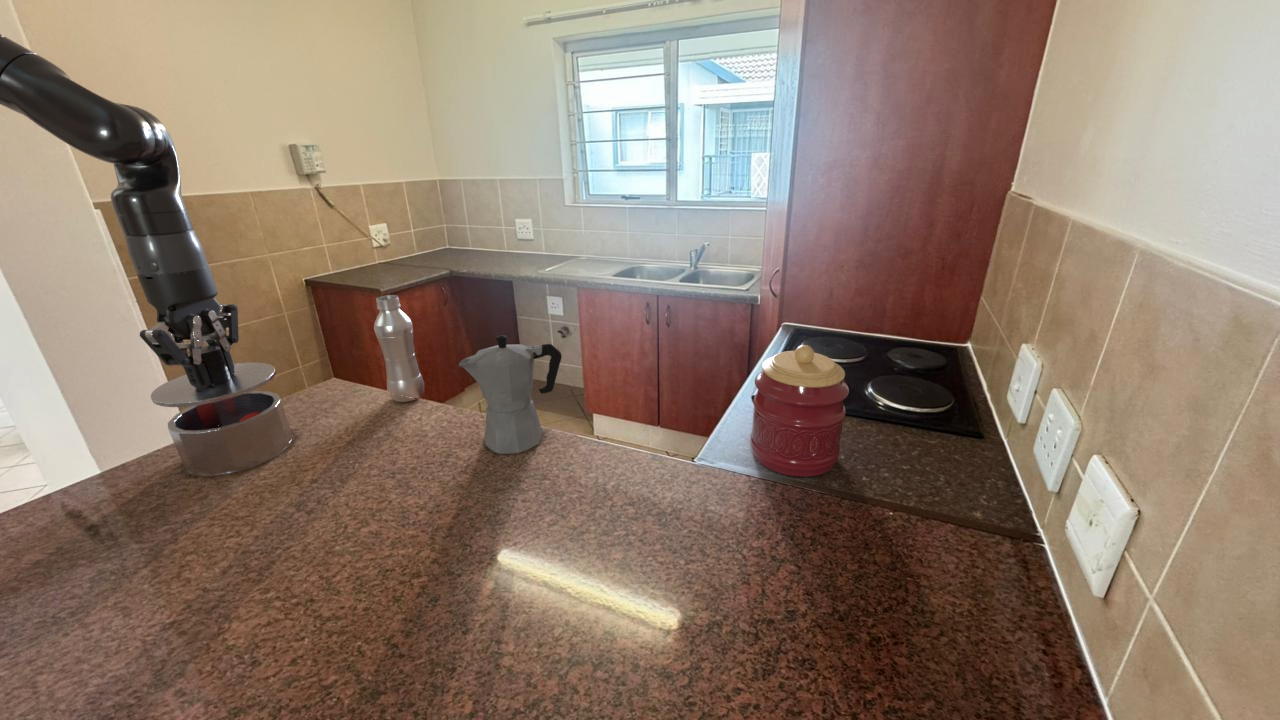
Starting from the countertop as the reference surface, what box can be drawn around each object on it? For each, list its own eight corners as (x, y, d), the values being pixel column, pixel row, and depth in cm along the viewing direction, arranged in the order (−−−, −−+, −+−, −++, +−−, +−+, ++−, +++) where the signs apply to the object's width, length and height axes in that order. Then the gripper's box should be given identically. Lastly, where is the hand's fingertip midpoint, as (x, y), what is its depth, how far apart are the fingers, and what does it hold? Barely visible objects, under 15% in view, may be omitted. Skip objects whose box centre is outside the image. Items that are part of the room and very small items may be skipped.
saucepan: (161, 477, 73) (141, 432, 71) (234, 430, 86) (219, 390, 83) (251, 478, 73) (234, 433, 70) (311, 430, 85) (299, 391, 83)
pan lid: (124, 411, 69) (105, 369, 66) (212, 369, 82) (199, 333, 80) (226, 411, 68) (211, 369, 66) (298, 369, 82) (287, 333, 79)
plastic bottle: (415, 388, 101) (395, 291, 93) (433, 397, 97) (414, 296, 89) (383, 399, 96) (359, 298, 88) (400, 409, 92) (377, 304, 84)
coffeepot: (475, 464, 75) (456, 352, 68) (469, 434, 83) (453, 332, 76) (574, 442, 80) (566, 337, 74) (560, 416, 89) (552, 319, 82)
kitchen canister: (845, 483, 69) (865, 366, 63) (750, 474, 72) (759, 360, 65) (830, 435, 81) (845, 332, 75) (748, 429, 83) (756, 329, 77)
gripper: (191, 257, 75) (228, 363, 81) (92, 278, 62) (146, 402, 68) (239, 256, 75) (273, 362, 81) (150, 277, 61) (199, 402, 68)
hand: (215, 380), depth 75 cm, fingers closed on pan lid, 3 cm apart
